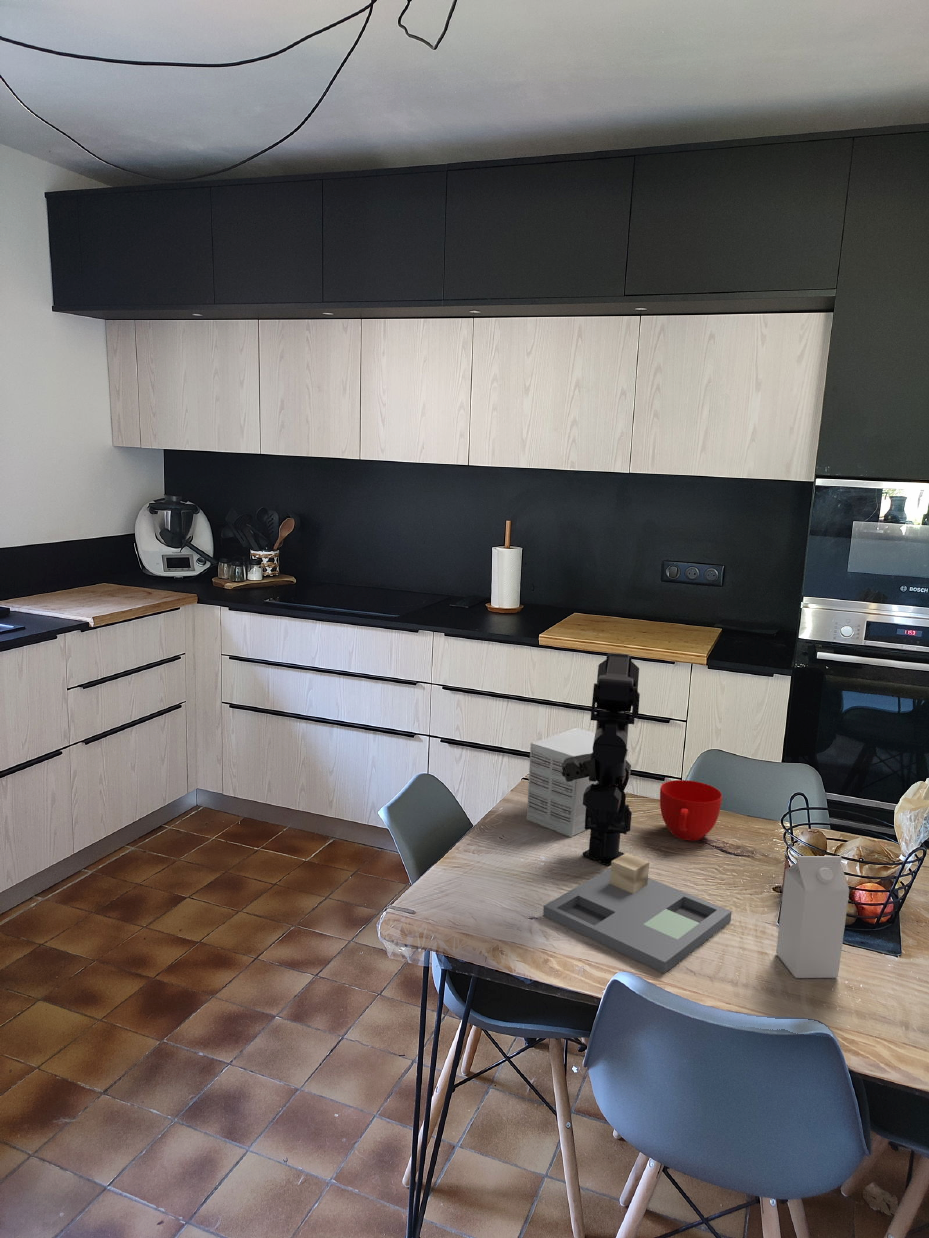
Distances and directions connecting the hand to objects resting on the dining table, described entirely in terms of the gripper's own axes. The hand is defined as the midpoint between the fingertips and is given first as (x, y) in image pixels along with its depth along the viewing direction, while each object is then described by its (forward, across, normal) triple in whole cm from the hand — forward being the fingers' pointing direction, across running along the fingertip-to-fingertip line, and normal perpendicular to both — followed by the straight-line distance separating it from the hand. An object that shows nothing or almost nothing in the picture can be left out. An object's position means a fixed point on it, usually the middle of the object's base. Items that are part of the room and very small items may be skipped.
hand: (604, 826), depth 161 cm
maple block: (+11, 0, +5) cm, 12 cm away
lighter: (+13, -13, +37) cm, 41 cm away
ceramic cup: (+14, -30, +14) cm, 36 cm away
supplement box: (+14, -31, -11) cm, 35 cm away
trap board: (+12, +9, +8) cm, 17 cm away
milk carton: (+12, +13, +36) cm, 40 cm away
